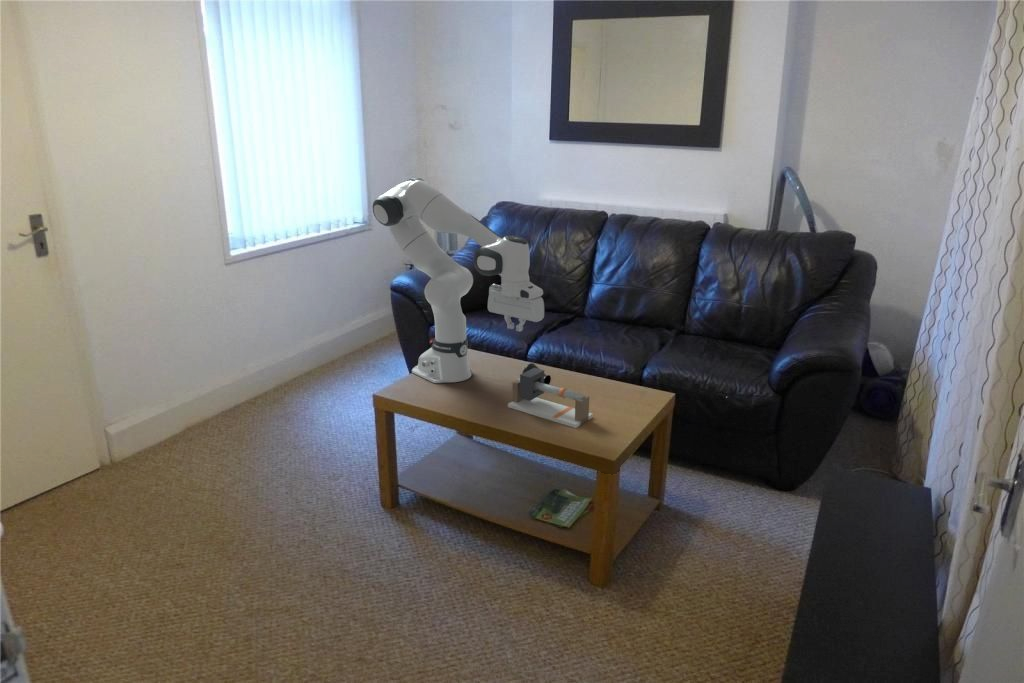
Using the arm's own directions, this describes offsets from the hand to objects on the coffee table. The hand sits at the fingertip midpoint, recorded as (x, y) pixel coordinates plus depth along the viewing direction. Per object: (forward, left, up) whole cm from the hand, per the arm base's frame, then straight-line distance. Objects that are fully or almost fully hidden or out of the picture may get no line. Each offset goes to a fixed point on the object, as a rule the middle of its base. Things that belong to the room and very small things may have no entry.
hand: (515, 329), depth 226 cm
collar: (+7, 0, -21) cm, 22 cm away
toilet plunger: (-3, +12, -26) cm, 28 cm away
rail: (+14, 0, -25) cm, 29 cm away
